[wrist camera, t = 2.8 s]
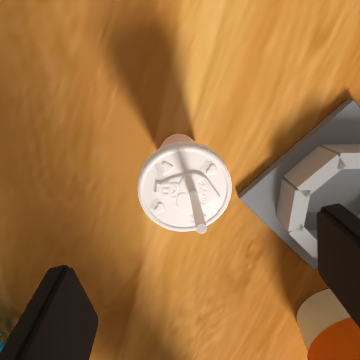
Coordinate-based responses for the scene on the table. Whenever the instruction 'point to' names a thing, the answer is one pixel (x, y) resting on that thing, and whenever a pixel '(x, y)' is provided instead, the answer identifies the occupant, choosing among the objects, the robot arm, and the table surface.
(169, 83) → the table surface
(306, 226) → the bottle socket
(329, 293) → the reusable coffee cup
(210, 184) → the smoothie
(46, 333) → the robot arm
